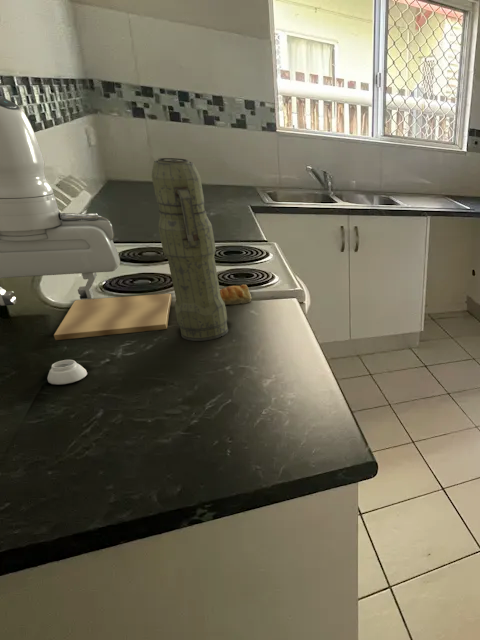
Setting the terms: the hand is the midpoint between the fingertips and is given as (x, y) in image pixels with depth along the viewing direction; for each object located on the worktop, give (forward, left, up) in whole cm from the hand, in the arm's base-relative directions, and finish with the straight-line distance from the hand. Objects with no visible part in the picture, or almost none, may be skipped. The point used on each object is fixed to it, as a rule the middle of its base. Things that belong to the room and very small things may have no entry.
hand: (49, 301), depth 76 cm
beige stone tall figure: (+19, +14, -14) cm, 28 cm away
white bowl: (-1, 0, -14) cm, 14 cm away
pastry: (+25, +32, -14) cm, 43 cm away
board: (+3, +28, -14) cm, 31 cm away
